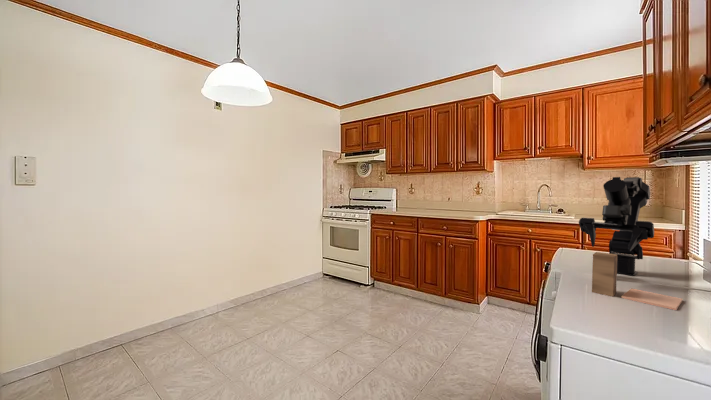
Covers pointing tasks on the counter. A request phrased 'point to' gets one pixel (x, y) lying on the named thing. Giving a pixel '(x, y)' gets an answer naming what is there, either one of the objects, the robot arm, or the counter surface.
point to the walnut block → (604, 273)
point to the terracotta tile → (653, 298)
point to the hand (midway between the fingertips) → (610, 248)
